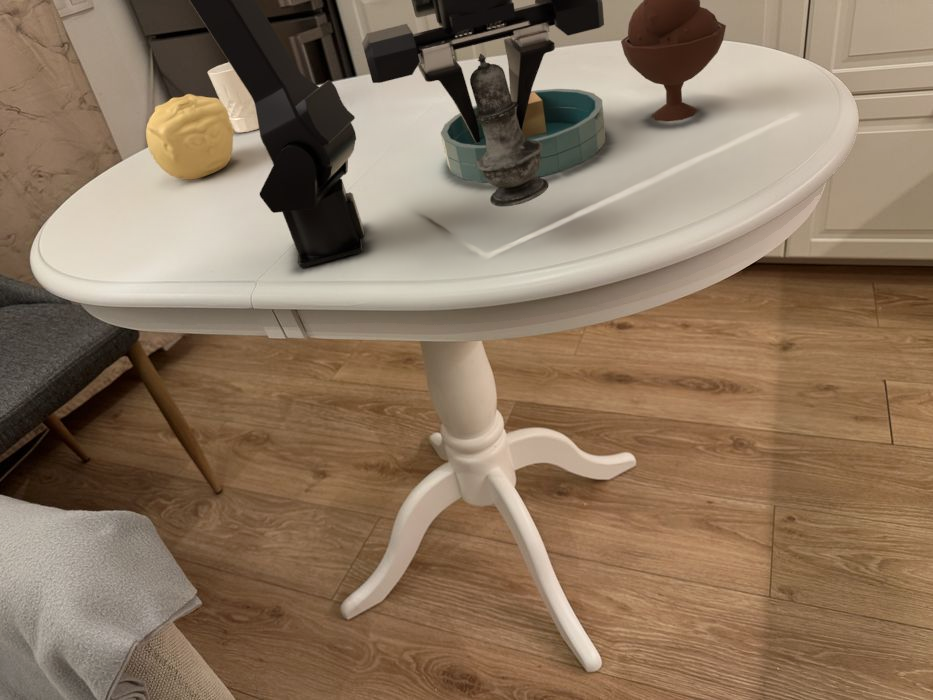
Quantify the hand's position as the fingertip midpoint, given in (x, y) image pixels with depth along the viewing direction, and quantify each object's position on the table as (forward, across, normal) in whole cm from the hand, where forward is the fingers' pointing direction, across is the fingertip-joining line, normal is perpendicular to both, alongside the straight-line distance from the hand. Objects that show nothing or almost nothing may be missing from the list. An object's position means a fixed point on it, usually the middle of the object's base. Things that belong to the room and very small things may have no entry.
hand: (497, 136), depth 60 cm
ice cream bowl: (+10, -24, -19) cm, 32 cm away
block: (+9, -8, -26) cm, 28 cm away
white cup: (+10, +31, -66) cm, 73 cm away
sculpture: (+10, +37, -47) cm, 60 cm away
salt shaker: (+5, -1, +2) cm, 5 cm away
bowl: (+10, -6, -20) cm, 23 cm away
